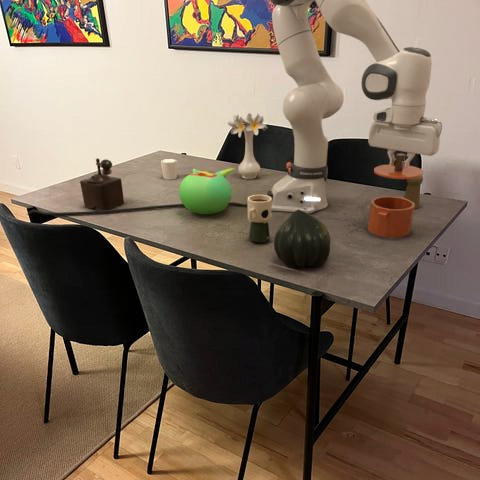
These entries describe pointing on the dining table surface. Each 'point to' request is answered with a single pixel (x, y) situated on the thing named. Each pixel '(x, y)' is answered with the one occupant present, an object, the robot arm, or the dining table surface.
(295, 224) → the squash
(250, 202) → the character mug
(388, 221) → the pot
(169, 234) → the dining table surface
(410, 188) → the cork
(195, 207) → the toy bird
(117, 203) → the coffee grinder
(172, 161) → the white short cylinder
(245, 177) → the flower vase
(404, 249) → the dining table surface
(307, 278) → the dining table surface
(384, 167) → the lid
